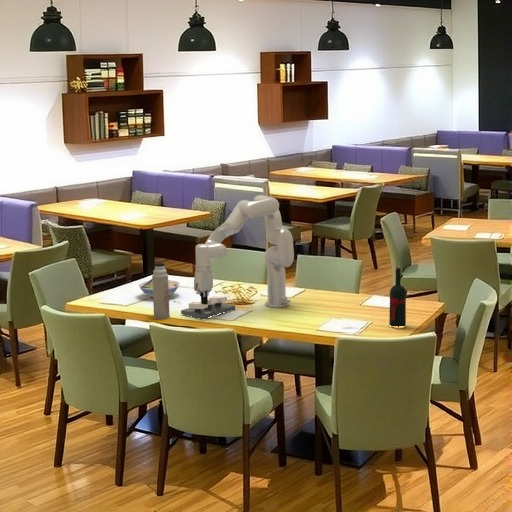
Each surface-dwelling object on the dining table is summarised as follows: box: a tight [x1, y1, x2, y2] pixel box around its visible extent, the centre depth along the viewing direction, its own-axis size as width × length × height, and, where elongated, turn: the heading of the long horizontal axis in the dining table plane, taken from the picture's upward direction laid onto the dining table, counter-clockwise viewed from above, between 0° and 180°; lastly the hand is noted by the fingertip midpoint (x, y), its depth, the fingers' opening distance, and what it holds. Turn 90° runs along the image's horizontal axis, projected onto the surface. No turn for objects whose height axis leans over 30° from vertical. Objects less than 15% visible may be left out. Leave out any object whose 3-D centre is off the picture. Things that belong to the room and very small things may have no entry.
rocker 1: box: [188, 301, 208, 309], centre depth 487 cm, size 9×4×3 cm, turn 50°
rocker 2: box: [208, 298, 218, 305], centre depth 493 cm, size 9×4×3 cm, turn 49°
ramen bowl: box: [138, 278, 181, 298], centre depth 528 cm, size 25×23×8 cm
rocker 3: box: [208, 295, 228, 303], centre depth 498 cm, size 9×4×2 cm, turn 50°
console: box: [180, 302, 236, 320], centre depth 493 cm, size 16×24×4 cm, turn 140°
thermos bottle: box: [151, 262, 171, 320], centre depth 484 cm, size 8×8×28 cm
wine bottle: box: [388, 265, 407, 327], centre depth 457 cm, size 8×10×30 cm
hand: (204, 303), depth 484 cm, fingers closed
